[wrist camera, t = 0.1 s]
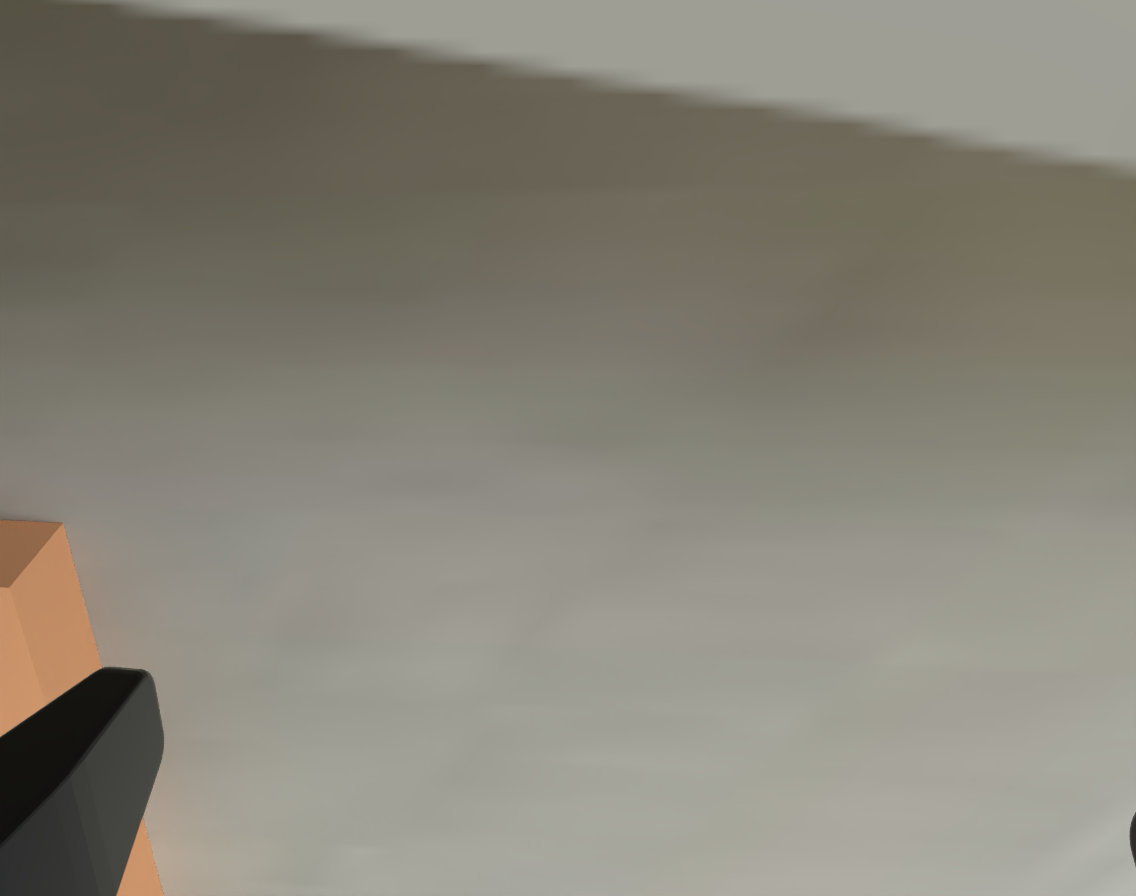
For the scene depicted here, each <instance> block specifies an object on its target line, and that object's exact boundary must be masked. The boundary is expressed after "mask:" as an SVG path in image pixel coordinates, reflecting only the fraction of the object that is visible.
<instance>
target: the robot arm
mask: <svg viewBox="0 0 1136 896" xmlns="http://www.w3.org/2000/svg"><path fill="white" fill-rule="evenodd" d="M163 749H164V732H163V727H162V721H161V716H160V710H159V704H158V699H157V693H156V688H155V683H154V680H153V677H152V676H151V674H150V673H149V672H148V671H145V670H142V669H132V668H120V667H104V668H101V669H99V670H97V671H95V672H93V673H92V674H91V675H89V676H88V677H86V678H85V679H83V680H82V681H80V682H79V683H78V684H76V685H75V686H73V687H72V688H70V689H69V690H67V691H66V692H64V693H63V694H62V695H60V696H59V697H57V698H56V699H54V700H53V701H51V702H50V703H48V704H47V705H46V706H44V707H43V708H41V709H40V710H38V711H37V712H35V713H34V714H33V715H31V716H30V717H28V718H27V719H25V720H24V721H22V722H21V723H19V724H18V725H17V726H15V727H14V728H12V729H11V730H9V731H8V732H6V733H5V734H3V735H2V736H1V737H0V896H117V893H118V890H119V887H120V884H121V881H122V878H123V875H124V872H125V869H126V866H127V863H128V860H129V857H130V854H131V851H132V848H133V845H134V842H135V839H136V836H137V833H138V830H139V827H140V824H141V821H142V818H143V815H144V812H145V809H146V806H147V803H148V800H149V797H150V794H151V791H152V788H153V785H154V782H155V779H156V776H157V773H158V770H159V767H160V763H161V760H162V755H163ZM1130 846H1131V851H1132V855H1133V858H1134V862H1135V866H1136V812H1135V814H1134V816H1133V819H1132V822H1131V827H1130Z"/></svg>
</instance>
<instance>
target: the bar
mask: <svg viewBox="0 0 1136 896" xmlns="http://www.w3.org/2000/svg"><path fill="white" fill-rule="evenodd" d="M101 668H102V664H101V661H100V657H99V653H98V650H97V646H96V642H95V638H94V635H93V631H92V627H91V624H90V620H89V616H88V613H87V609H86V605H85V602H84V598H83V594H82V590H81V587H80V583H79V579H78V576H77V572H76V568H75V565H74V561H73V557H72V554H71V550H70V546H69V542H68V539H67V535H66V531H65V528H64V524H63V523H54V522H34V521H13V520H0V737H1V736H2V735H3V734H5V733H6V732H8V731H9V730H11V729H12V728H14V727H15V726H17V725H18V724H19V723H21V722H22V721H24V720H25V719H27V718H28V717H30V716H31V715H33V714H34V713H35V712H37V711H38V710H40V709H41V708H43V707H44V706H46V705H47V704H48V703H50V702H51V701H53V700H54V699H56V698H57V697H59V696H60V695H62V694H63V693H64V692H66V691H67V690H69V689H70V688H72V687H73V686H75V685H76V684H78V683H79V682H80V681H82V680H83V679H85V678H86V677H88V676H89V675H91V674H92V673H93V672H95V671H97V670H99V669H101ZM117 896H164V893H163V890H162V886H161V882H160V879H159V875H158V871H157V867H156V864H155V860H154V856H153V853H152V849H151V845H150V842H149V838H148V834H147V831H146V827H145V823H144V819H143V818H142V821H141V824H140V827H139V830H138V833H137V836H136V839H135V842H134V845H133V848H132V851H131V854H130V857H129V860H128V863H127V866H126V869H125V872H124V875H123V878H122V881H121V884H120V887H119V890H118V893H117Z"/></svg>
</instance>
